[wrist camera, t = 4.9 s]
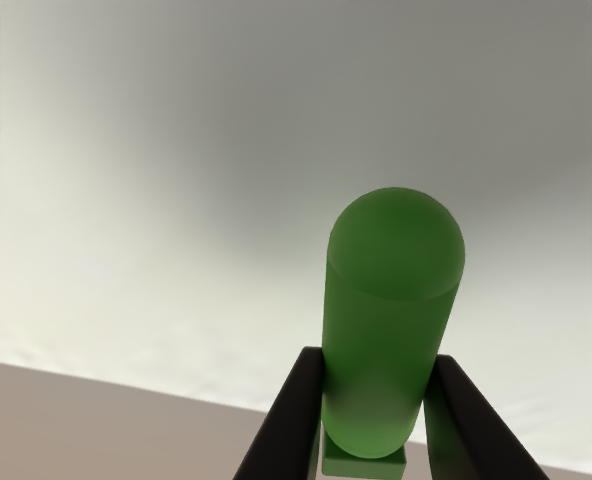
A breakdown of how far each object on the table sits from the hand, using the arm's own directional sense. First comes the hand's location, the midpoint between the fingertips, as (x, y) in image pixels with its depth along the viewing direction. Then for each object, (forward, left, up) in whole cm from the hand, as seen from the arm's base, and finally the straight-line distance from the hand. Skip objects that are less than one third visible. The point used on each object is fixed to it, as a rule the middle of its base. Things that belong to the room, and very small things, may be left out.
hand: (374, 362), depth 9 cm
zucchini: (0, -1, -1) cm, 1 cm away
